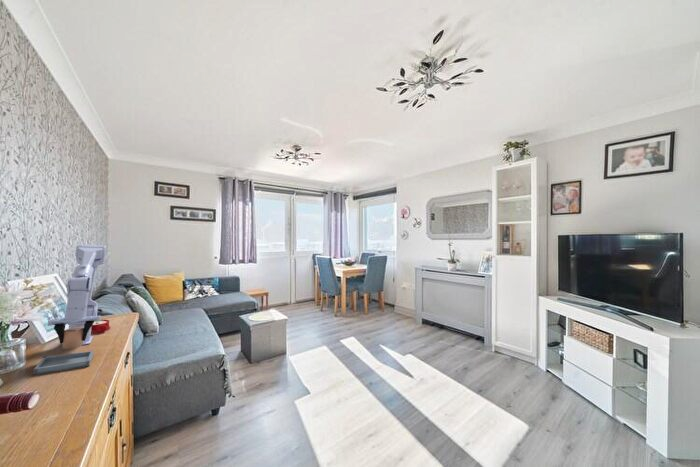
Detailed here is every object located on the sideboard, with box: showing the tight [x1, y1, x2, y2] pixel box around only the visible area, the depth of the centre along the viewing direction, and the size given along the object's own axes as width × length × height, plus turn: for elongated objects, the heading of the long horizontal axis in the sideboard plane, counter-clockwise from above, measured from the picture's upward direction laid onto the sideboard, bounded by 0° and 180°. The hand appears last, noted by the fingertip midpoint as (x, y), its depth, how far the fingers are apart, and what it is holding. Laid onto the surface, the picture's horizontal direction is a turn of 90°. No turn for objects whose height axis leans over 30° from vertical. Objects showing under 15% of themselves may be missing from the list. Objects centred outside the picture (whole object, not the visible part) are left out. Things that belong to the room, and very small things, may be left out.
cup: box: [61, 328, 84, 350], centre depth 106 cm, size 6×6×7 cm
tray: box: [32, 350, 95, 376], centre depth 98 cm, size 11×14×2 cm
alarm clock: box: [91, 319, 111, 334], centre depth 132 cm, size 10×6×15 cm
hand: (73, 341), depth 105 cm, fingers closed on cup, 6 cm apart
